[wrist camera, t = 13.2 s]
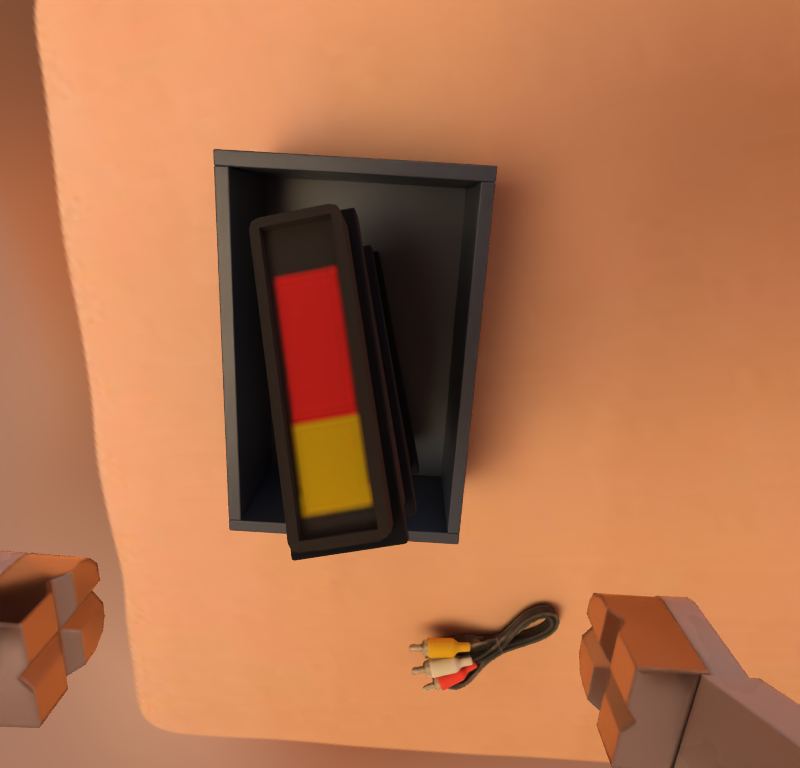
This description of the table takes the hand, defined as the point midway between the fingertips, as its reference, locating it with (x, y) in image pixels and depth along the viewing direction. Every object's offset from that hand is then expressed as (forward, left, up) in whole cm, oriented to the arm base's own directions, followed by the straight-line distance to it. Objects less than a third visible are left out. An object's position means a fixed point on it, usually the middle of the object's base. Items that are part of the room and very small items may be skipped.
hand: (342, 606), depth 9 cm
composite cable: (+20, +7, -22) cm, 31 cm away
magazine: (0, -2, -22) cm, 22 cm away
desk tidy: (0, -2, -22) cm, 22 cm away
